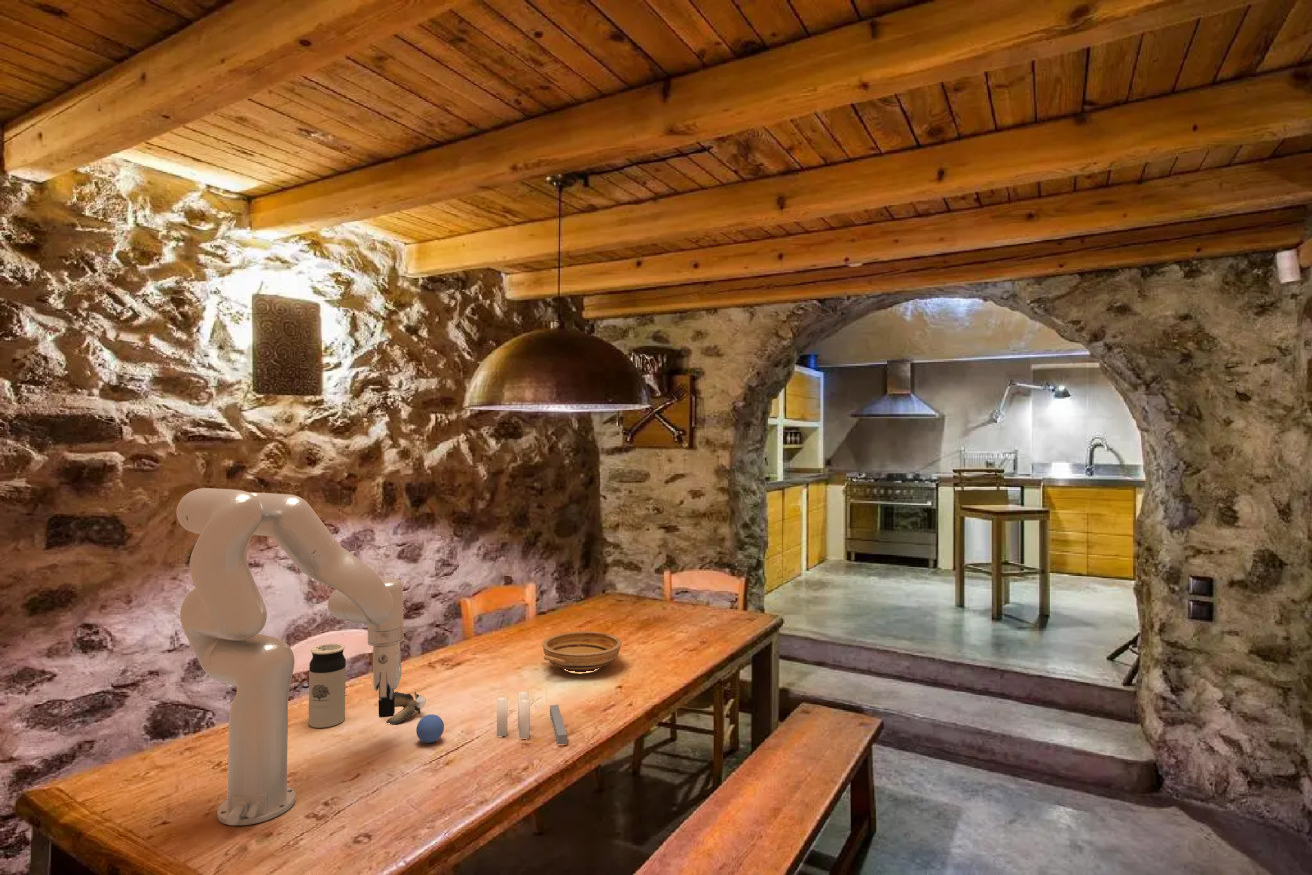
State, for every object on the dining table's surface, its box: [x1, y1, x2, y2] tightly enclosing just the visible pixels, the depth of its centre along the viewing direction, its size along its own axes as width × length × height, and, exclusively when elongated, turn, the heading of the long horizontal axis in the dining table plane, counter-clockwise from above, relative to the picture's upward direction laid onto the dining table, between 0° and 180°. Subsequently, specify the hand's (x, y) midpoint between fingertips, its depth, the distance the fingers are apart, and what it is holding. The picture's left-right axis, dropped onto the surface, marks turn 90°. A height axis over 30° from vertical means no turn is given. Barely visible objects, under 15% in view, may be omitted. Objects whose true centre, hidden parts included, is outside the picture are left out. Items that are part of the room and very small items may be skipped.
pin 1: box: [517, 690, 530, 729], centre depth 162 cm, size 2×2×8 cm
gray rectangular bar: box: [549, 704, 568, 744], centre depth 162 cm, size 18×2×2 cm, turn 15°
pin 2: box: [518, 699, 531, 739], centre depth 158 cm, size 2×2×8 cm
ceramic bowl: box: [541, 630, 623, 672], centre depth 207 cm, size 30×24×8 cm
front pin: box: [496, 696, 509, 737], centre depth 159 cm, size 2×2×8 cm
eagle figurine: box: [385, 691, 427, 725], centre depth 168 cm, size 8×7×9 cm
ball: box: [415, 714, 445, 744], centre depth 155 cm, size 6×6×6 cm
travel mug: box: [308, 643, 347, 729], centre depth 165 cm, size 8×8×18 cm
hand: (386, 715), depth 153 cm, fingers closed
